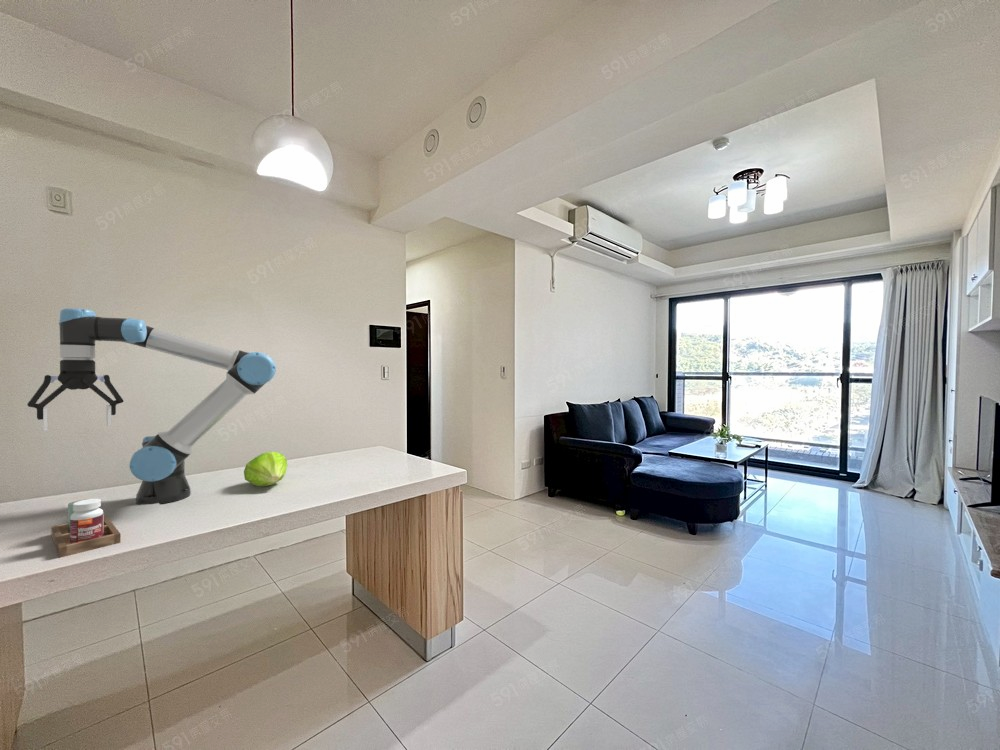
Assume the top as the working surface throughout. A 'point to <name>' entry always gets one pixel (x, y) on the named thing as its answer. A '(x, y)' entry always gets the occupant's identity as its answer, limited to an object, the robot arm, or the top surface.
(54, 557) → the top surface
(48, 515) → the top surface
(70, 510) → the soap bar
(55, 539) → the crate
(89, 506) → the pill bottle
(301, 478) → the top surface
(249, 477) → the lettuce
